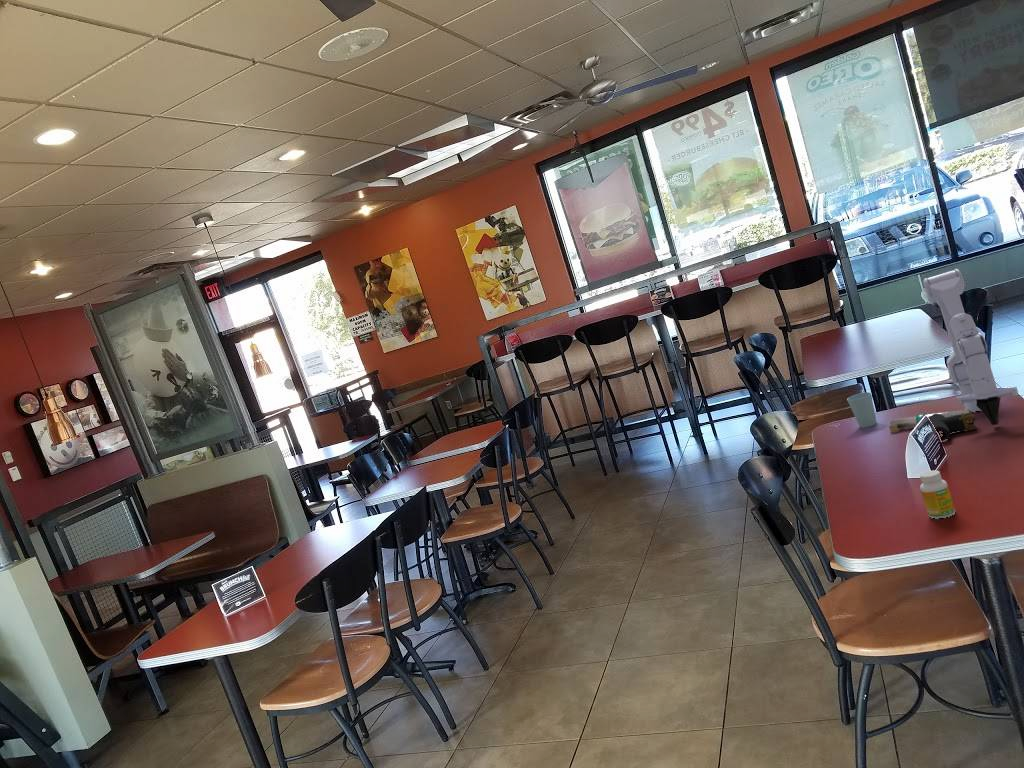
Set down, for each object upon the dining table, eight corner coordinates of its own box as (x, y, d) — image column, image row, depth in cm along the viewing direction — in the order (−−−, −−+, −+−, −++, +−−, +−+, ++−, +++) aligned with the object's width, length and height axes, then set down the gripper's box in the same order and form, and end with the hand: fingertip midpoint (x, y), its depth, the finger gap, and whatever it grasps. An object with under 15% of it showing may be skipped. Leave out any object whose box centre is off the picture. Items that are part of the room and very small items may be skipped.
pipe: (891, 432, 242) (887, 422, 242) (896, 427, 246) (892, 417, 245) (969, 422, 226) (965, 410, 226) (973, 417, 230) (969, 405, 229)
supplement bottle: (945, 520, 166) (931, 478, 165) (923, 518, 171) (910, 477, 170) (961, 511, 168) (948, 469, 167) (940, 509, 173) (927, 468, 172)
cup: (851, 429, 262) (842, 400, 261) (865, 421, 265) (856, 393, 264) (869, 428, 255) (860, 399, 254) (884, 420, 258) (875, 391, 258)
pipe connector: (968, 405, 225) (972, 418, 212) (973, 422, 226) (978, 436, 212) (925, 415, 231) (927, 428, 218) (930, 432, 231) (932, 446, 218)
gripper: (949, 386, 215) (963, 432, 216) (1007, 376, 205) (1022, 424, 206) (955, 379, 220) (969, 424, 221) (1013, 369, 210) (1027, 416, 211)
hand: (995, 423), depth 214 cm, fingers closed
